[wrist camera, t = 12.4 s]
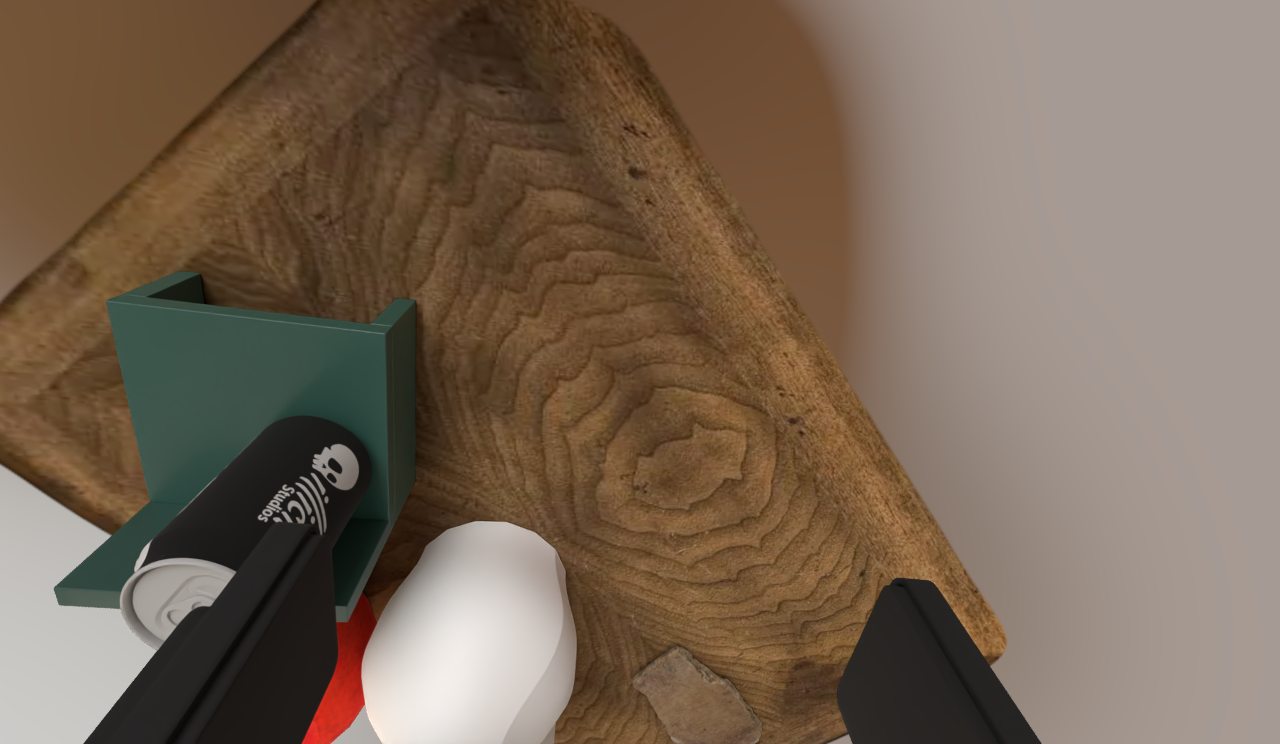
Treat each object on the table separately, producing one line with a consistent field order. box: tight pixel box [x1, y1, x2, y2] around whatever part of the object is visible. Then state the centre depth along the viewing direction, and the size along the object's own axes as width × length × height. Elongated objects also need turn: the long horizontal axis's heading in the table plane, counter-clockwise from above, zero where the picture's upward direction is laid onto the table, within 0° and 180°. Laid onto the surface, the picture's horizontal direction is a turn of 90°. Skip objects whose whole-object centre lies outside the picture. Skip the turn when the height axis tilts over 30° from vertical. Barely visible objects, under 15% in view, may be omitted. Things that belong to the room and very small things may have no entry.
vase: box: [361, 521, 577, 744], centre depth 39 cm, size 14×14×20 cm
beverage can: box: [120, 415, 372, 650], centre depth 30 cm, size 7×7×12 cm
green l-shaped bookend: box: [54, 271, 416, 622], centre depth 34 cm, size 14×14×13 cm
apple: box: [302, 592, 377, 744], centre depth 42 cm, size 10×10×12 cm
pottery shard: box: [632, 646, 762, 744], centre depth 55 cm, size 8×3×15 cm
